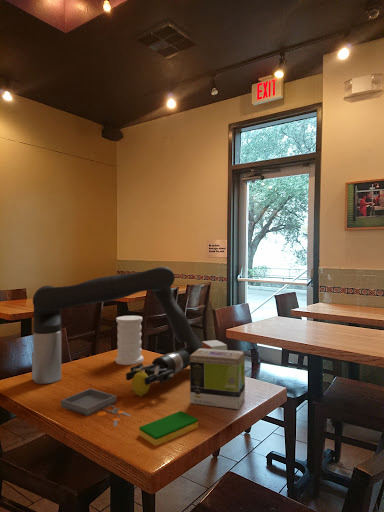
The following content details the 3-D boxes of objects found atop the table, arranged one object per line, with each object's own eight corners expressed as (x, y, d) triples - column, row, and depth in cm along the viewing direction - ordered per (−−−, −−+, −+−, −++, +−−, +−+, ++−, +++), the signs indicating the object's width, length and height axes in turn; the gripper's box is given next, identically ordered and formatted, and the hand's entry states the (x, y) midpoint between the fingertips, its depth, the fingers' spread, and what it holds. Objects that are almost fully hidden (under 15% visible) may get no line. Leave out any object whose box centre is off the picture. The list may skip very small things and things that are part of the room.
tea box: (245, 397, 113) (245, 350, 113) (238, 411, 104) (238, 359, 104) (199, 391, 118) (199, 346, 118) (189, 403, 109) (189, 354, 108)
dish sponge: (138, 436, 90) (138, 426, 90) (180, 419, 99) (180, 410, 99) (156, 448, 85) (155, 437, 85) (198, 428, 94) (198, 419, 94)
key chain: (91, 412, 103) (91, 409, 103) (114, 405, 108) (114, 402, 108) (113, 428, 94) (113, 425, 94) (137, 420, 99) (137, 416, 99)
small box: (201, 377, 132) (201, 341, 132) (217, 374, 135) (217, 339, 135) (211, 384, 125) (211, 346, 125) (227, 381, 127) (227, 344, 127)
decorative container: (111, 364, 148) (111, 319, 148) (121, 356, 159) (121, 315, 159) (138, 365, 146) (138, 320, 146) (146, 357, 157) (146, 315, 157)
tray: (60, 407, 106) (60, 400, 106) (90, 394, 116) (90, 388, 116) (87, 416, 100) (87, 408, 100) (116, 402, 110) (116, 395, 110)
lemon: (151, 393, 117) (151, 368, 117) (147, 400, 111) (147, 374, 111) (134, 392, 117) (134, 367, 117) (129, 399, 112) (129, 373, 112)
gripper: (151, 351, 130) (118, 363, 116) (185, 357, 122) (154, 371, 108) (151, 372, 130) (119, 386, 116) (185, 380, 122) (154, 396, 108)
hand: (136, 379), depth 112 cm, fingers open, 7 cm apart
